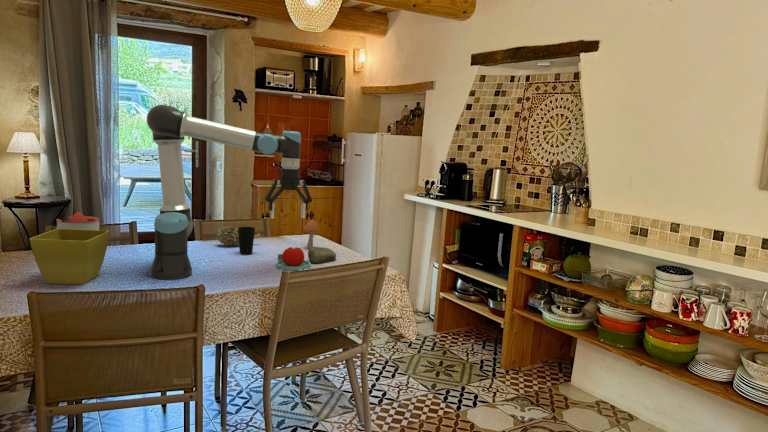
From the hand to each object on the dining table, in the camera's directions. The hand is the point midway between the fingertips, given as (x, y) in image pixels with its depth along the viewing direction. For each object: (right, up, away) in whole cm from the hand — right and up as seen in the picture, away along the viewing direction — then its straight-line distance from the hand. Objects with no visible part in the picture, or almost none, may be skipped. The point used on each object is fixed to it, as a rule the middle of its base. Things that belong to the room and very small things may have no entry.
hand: (287, 218), depth 224 cm
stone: (+12, -20, +16) cm, 28 cm away
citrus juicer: (-87, -17, -5) cm, 88 cm away
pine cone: (-31, -14, +37) cm, 51 cm away
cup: (-23, -17, +21) cm, 36 cm away
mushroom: (+4, -16, +39) cm, 42 cm away
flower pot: (-72, -22, -34) cm, 82 cm away
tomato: (+2, -20, +3) cm, 21 cm away
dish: (+2, -21, +3) cm, 21 cm away
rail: (-2, -19, +11) cm, 22 cm away
